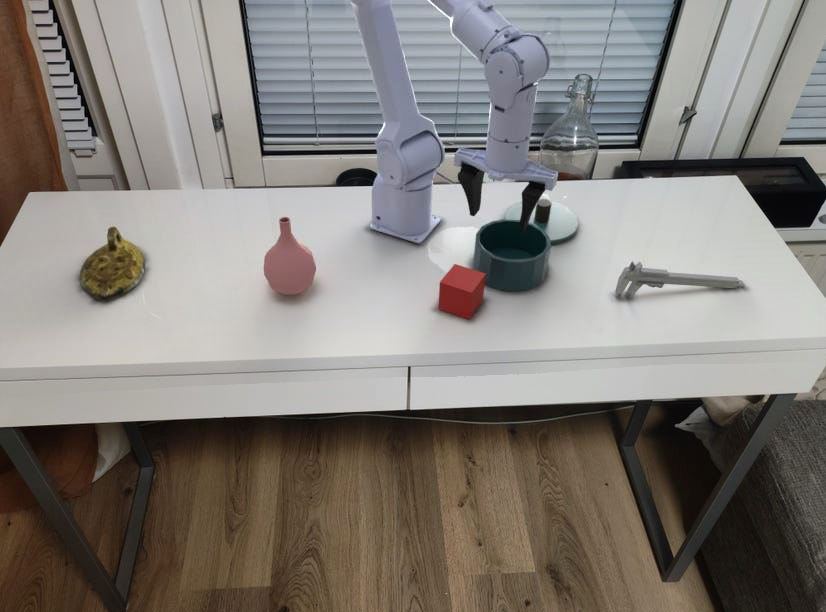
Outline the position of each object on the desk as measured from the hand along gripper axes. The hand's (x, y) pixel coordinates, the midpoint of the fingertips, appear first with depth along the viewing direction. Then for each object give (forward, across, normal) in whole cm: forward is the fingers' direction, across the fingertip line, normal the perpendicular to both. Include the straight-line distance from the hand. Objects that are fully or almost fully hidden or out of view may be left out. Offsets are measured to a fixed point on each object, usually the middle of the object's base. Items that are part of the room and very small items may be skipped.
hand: (498, 219), depth 110 cm
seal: (+10, -52, -27) cm, 59 cm away
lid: (+9, +2, +16) cm, 19 cm away
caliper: (+10, +27, +9) cm, 30 cm away
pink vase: (+10, -25, -18) cm, 32 cm away
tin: (+10, +2, +2) cm, 10 cm away
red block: (+10, -1, -9) cm, 14 cm away
